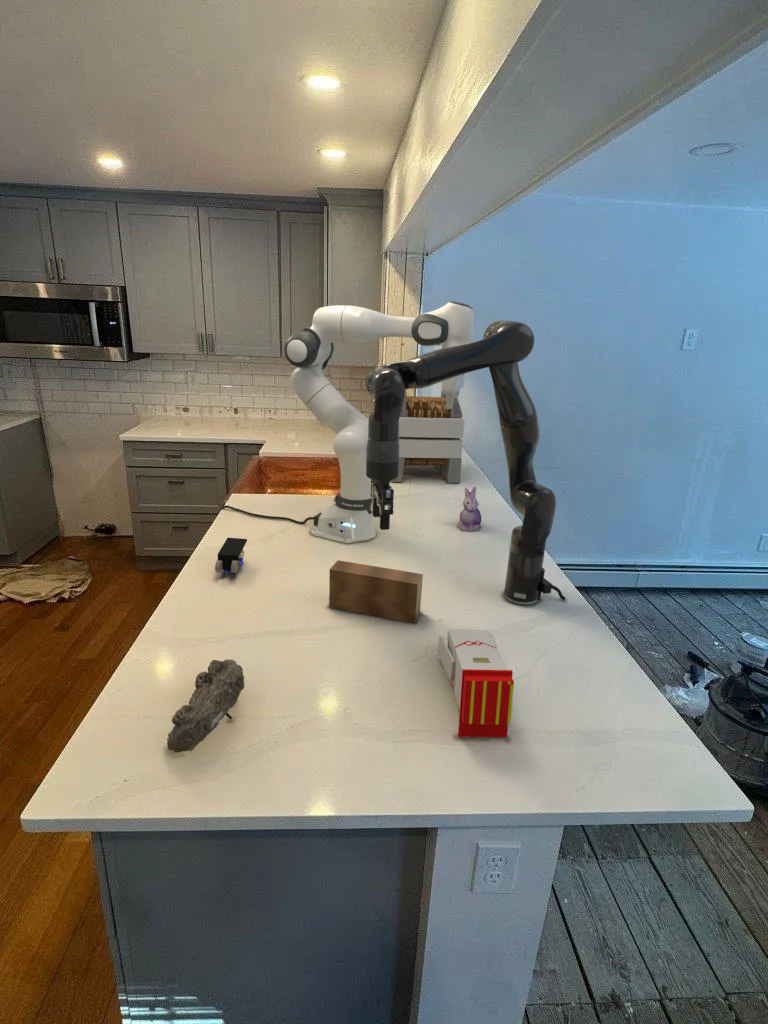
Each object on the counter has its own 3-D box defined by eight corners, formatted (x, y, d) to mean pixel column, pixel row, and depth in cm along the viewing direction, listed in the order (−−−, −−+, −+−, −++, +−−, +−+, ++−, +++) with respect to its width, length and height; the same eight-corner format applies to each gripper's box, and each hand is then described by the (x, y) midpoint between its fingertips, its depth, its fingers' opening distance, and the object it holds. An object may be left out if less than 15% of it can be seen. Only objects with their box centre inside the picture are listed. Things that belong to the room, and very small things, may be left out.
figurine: (467, 533, 203) (471, 493, 198) (451, 523, 211) (454, 485, 206) (488, 529, 207) (492, 490, 202) (471, 520, 215) (475, 482, 210)
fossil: (192, 660, 117) (244, 628, 112) (224, 691, 120) (276, 661, 115) (142, 746, 98) (202, 712, 93) (182, 779, 101) (242, 748, 96)
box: (329, 607, 149) (329, 569, 145) (337, 597, 155) (337, 560, 151) (415, 623, 144) (417, 584, 140) (420, 612, 149) (422, 574, 145)
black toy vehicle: (238, 584, 162) (249, 557, 175) (236, 562, 158) (247, 536, 172) (215, 584, 161) (227, 556, 175) (212, 561, 158) (225, 535, 171)
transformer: (382, 463, 289) (386, 382, 275) (445, 464, 293) (451, 384, 279) (390, 482, 257) (394, 392, 243) (460, 483, 261) (468, 394, 247)
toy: (488, 613, 130) (523, 677, 101) (484, 667, 133) (517, 744, 104) (435, 612, 130) (455, 676, 101) (432, 666, 133) (451, 743, 103)
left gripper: (451, 356, 180) (447, 400, 184) (439, 361, 161) (435, 410, 166) (471, 358, 178) (466, 402, 183) (461, 363, 160) (456, 412, 164)
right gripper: (406, 464, 124) (403, 533, 130) (391, 449, 137) (389, 512, 143) (372, 465, 123) (371, 534, 128) (361, 449, 136) (360, 513, 141)
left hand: (451, 406), depth 174 cm, fingers open, 8 cm apart
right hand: (380, 522), depth 136 cm, fingers open, 8 cm apart
